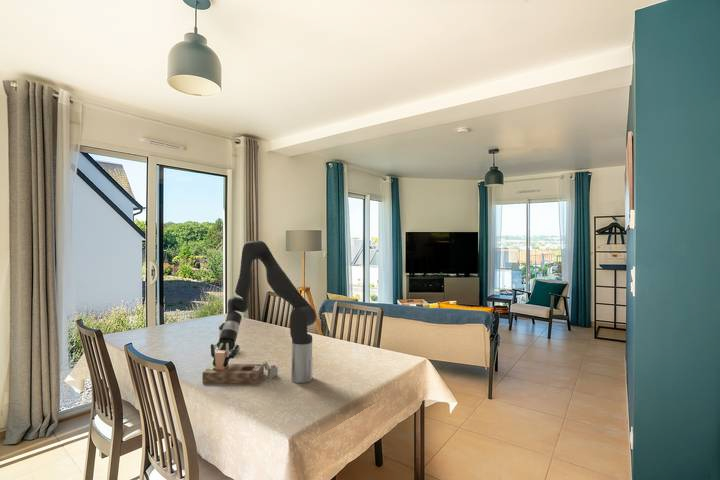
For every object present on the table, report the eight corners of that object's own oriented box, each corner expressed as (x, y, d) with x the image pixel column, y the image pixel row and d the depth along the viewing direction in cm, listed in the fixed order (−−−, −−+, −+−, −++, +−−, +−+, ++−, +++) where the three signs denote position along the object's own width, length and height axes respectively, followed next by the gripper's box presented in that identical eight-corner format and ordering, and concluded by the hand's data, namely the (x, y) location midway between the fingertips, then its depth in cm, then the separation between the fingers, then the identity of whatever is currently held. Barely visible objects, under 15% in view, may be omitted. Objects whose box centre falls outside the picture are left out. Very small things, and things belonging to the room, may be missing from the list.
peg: (226, 371, 171) (227, 350, 171) (223, 374, 167) (224, 353, 167) (218, 371, 171) (218, 350, 171) (214, 374, 167) (215, 352, 167)
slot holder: (263, 373, 175) (263, 363, 175) (256, 383, 163) (256, 372, 163) (213, 372, 175) (213, 362, 175) (202, 382, 163) (202, 371, 163)
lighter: (275, 374, 174) (276, 358, 174) (277, 375, 172) (278, 358, 172) (262, 378, 169) (262, 361, 169) (263, 379, 168) (264, 362, 168)
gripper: (213, 328, 176) (201, 361, 164) (242, 328, 176) (233, 362, 164) (217, 336, 182) (206, 369, 170) (245, 336, 182) (237, 370, 170)
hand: (219, 365), depth 167 cm, fingers closed on peg, 4 cm apart
